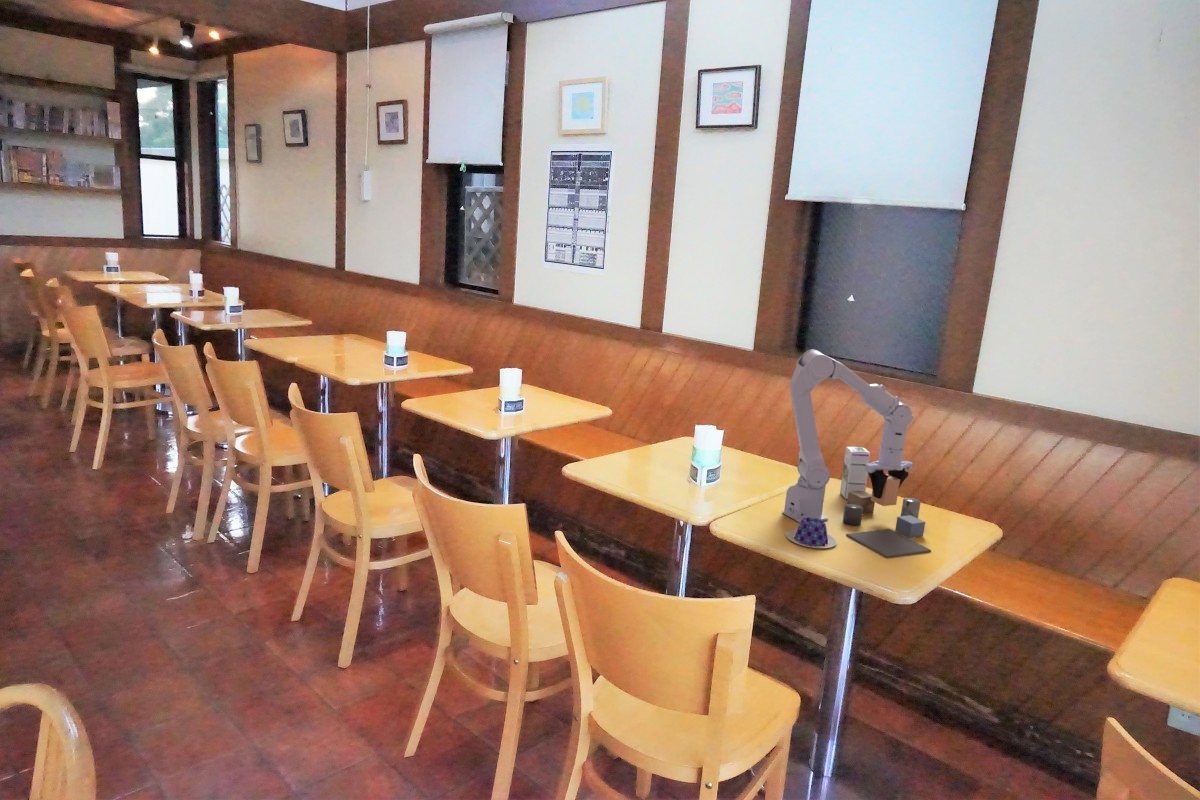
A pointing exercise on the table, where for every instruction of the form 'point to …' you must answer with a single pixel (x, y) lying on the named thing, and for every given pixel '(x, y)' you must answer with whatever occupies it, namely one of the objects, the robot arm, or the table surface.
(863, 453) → the syrup box
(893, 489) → the terracotta block
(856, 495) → the walnut block
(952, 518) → the table surface
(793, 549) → the table surface
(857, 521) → the charcoal cylinder
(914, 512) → the dark steel can
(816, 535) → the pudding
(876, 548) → the charcoal mat
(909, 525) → the slate blue block
